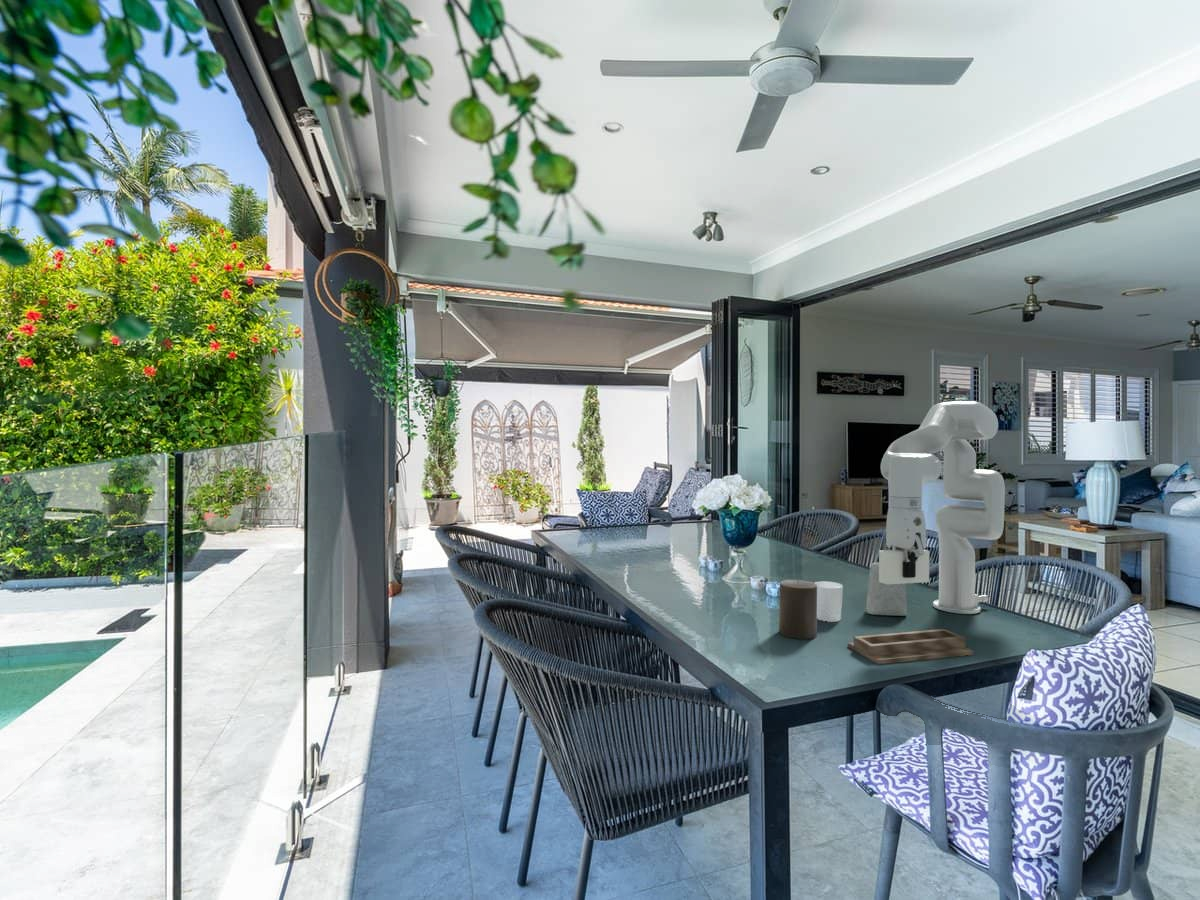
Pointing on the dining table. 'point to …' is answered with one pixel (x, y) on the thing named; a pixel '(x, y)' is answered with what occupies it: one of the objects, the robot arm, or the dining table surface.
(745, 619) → the dining table surface
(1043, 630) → the dining table surface
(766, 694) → the dining table surface
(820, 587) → the white cup
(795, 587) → the pillar candle
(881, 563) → the white rectangular block
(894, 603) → the decorative stone
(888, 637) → the track frame
